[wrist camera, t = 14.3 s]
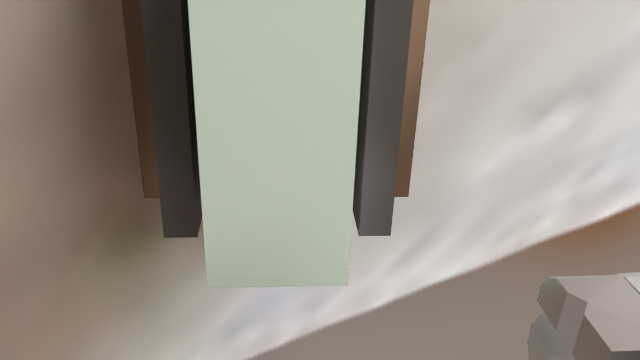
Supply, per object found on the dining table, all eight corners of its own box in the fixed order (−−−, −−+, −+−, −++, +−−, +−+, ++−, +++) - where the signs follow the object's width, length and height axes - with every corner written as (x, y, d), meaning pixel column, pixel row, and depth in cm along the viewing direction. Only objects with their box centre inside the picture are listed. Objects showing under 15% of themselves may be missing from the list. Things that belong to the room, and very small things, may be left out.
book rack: (149, 185, 27) (117, 260, 22) (111, -161, 21) (53, -178, 16) (403, 184, 28) (434, 257, 23) (438, -148, 22) (492, -160, 16)
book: (230, 150, 26) (205, 290, 17) (220, -78, 21) (182, -54, 13) (324, 150, 26) (349, 288, 17) (332, -75, 22) (370, -49, 13)
